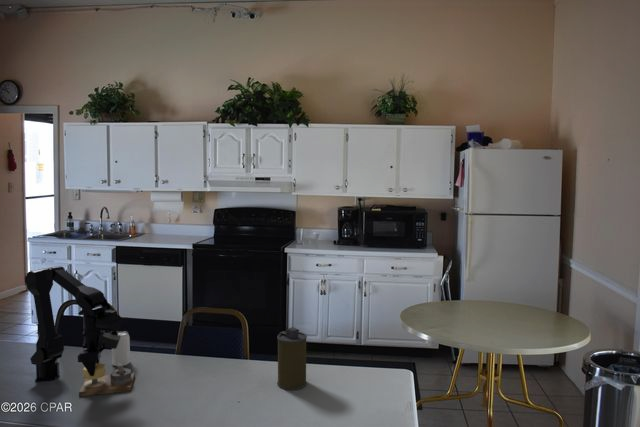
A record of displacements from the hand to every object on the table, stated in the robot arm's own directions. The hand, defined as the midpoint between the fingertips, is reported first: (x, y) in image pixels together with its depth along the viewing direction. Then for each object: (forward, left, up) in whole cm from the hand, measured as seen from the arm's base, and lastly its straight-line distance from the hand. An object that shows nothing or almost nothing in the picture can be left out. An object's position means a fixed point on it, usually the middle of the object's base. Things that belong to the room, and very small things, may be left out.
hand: (94, 371), depth 162 cm
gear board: (+4, 0, -6) cm, 7 cm away
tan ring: (0, 0, -1) cm, 1 cm away
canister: (+67, -14, -6) cm, 69 cm away
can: (+6, +20, -6) cm, 22 cm away
